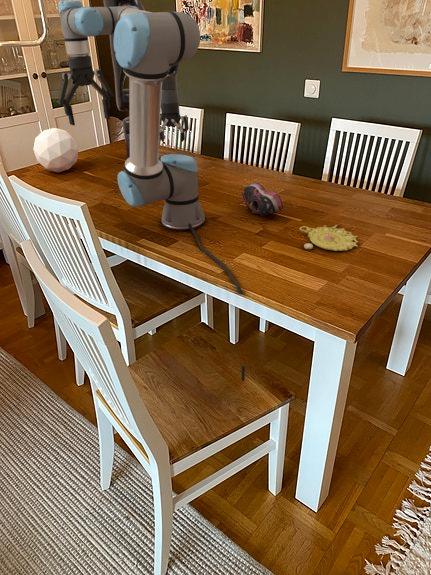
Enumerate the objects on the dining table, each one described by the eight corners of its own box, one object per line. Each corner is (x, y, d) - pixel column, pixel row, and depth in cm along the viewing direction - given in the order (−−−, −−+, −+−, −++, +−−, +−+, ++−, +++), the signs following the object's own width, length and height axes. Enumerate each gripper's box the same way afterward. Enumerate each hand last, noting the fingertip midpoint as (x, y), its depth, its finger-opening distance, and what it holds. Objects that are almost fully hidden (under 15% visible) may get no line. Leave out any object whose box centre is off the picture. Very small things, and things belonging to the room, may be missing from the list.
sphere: (65, 187, 210) (49, 161, 191) (35, 167, 214) (16, 139, 196) (92, 159, 215) (78, 132, 196) (62, 140, 219) (46, 111, 200)
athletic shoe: (254, 181, 170) (227, 189, 167) (283, 176, 151) (253, 185, 147) (260, 210, 173) (234, 218, 170) (290, 209, 154) (261, 219, 150)
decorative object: (343, 255, 128) (285, 234, 139) (342, 262, 130) (284, 241, 140) (372, 230, 142) (317, 213, 152) (371, 237, 143) (316, 219, 153)
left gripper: (188, 99, 182) (190, 139, 191) (155, 98, 184) (158, 138, 193) (184, 102, 176) (187, 144, 185) (150, 102, 178) (154, 143, 187)
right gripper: (107, 51, 157) (116, 114, 168) (38, 57, 144) (52, 125, 155) (117, 52, 152) (126, 117, 163) (46, 59, 139) (61, 129, 150)
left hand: (172, 141), depth 189 cm, fingers open, 8 cm apart
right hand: (90, 121), depth 159 cm, fingers open, 13 cm apart
